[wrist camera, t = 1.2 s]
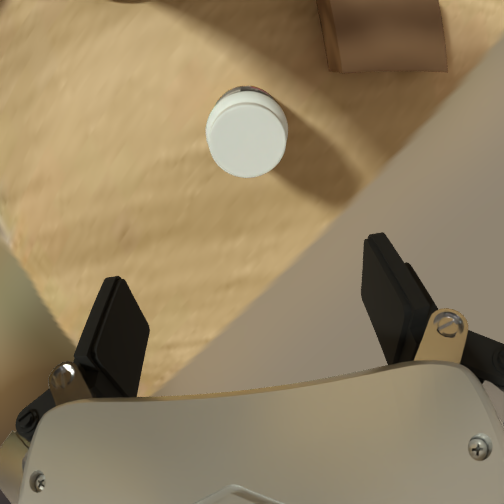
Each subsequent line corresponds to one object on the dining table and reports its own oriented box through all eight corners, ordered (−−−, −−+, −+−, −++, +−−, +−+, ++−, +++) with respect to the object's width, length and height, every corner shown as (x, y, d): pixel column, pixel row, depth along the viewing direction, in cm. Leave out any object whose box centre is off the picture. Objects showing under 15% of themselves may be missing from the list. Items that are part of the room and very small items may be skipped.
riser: (309, -30, 19) (319, -42, 16) (410, -25, 18) (431, -32, 15) (329, 71, 24) (342, 73, 21) (425, 68, 24) (447, 72, 20)
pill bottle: (291, 116, 27) (315, 143, 19) (245, 158, 29) (248, 203, 21) (245, 71, 24) (248, 76, 16) (199, 117, 27) (180, 145, 18)
